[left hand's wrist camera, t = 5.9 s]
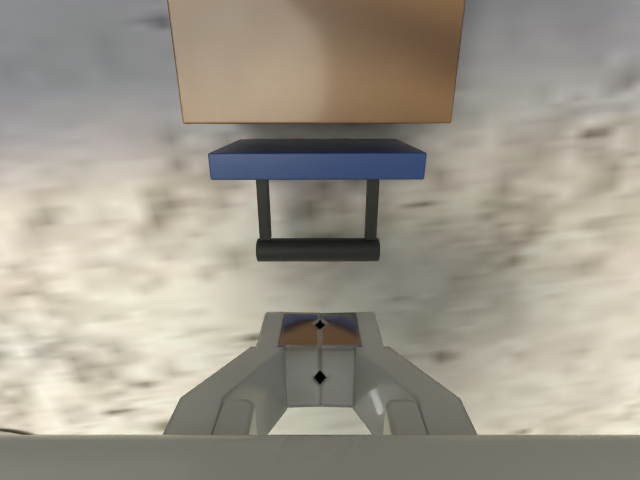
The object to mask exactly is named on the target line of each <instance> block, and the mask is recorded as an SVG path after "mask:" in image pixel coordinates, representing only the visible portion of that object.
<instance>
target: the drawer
mask: <svg viewBox="0 0 640 480" xmlns="http://www.w3.org/2000/svg"><path fill="white" fill-rule="evenodd" d="M208 158H209V167H210V176H211V179H212V180H256V186H257V202H258V217H259V233H260V238H259V239H258V240H257V243H256V257H257V260H258V261H378V260H379V257H380V243H379V239H378V238H376V231H377V213H378V195H379V179H424V174H425V163H426V153H425V152H423V151H420V150H418V149H416V148H414V147H412V146H410V145H407V144H405V143H403V142H401V141H399V140H396V139H248V140H238V141H236V142H233V143H231V144H229V145H227V146H225V147H222V148H220V149H218V150H216V151H213V152H211V153H209V154H208ZM357 179H367V192H366V215H365V238H271V237H272V236H271V217H270V198H269V180H357Z"/></svg>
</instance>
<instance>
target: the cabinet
mask: <svg viewBox="0 0 640 480" xmlns="http://www.w3.org/2000/svg"><path fill="white" fill-rule="evenodd" d="M167 3H168V10H169V18H170V26H171V34H172V41H173V49H174V57H175V65H176V72H177V80H178V88H179V96H180V103H181V111H182V119H183V123H184V124H315V123H450V122H451V117H452V109H453V101H454V92H455V84H456V75H457V67H458V59H459V50H460V42H461V33H462V25H463V16H464V8H465V0H167Z"/></svg>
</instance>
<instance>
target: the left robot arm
mask: <svg viewBox="0 0 640 480" xmlns="http://www.w3.org/2000/svg"><path fill="white" fill-rule="evenodd" d="M319 406H320V407H353V409H354V411H355V412H356V413H357V415H358V416H359V417H360V418H361V420H362V421H363V422H364V424H365V425H366V426H367V427H368V429H369V430H370V431H371V433H372V434H373V435H267V434H268V433H269V432H270V430H271V429H272V428H273V426H274V425H275V424H276V423H277V421H278V420H279V419H280V417H281V416H282V415H283V414H284V412H285V411H286V410H287V407H319ZM0 480H640V435H477V433H476V431H475V429H474V427H473V425H472V423H471V420H470V418H469V416H468V414H467V412H466V410H465V408H464V406H463V404H462V402H461V400H460V398H459V397H457V396H456V395H454V394H453V393H452V392H450V391H449V390H448V389H446V388H445V387H443V386H442V385H441V384H439V383H438V382H437V381H435V380H434V379H432V378H431V377H430V376H428V375H427V374H426V373H424V372H423V371H421V370H420V369H419V368H417V367H416V366H415V365H413V364H412V363H410V362H409V361H408V360H406V359H405V358H404V357H402V356H401V355H399V354H398V353H397V352H395V351H394V350H393V349H391V348H390V347H384V346H383V342H382V339H381V335H380V331H379V327H378V324H377V320H376V316H375V313H374V312H352V313H302V312H285V313H284V312H267V313H266V314H265V316H264V320H263V323H262V327H261V331H260V335H259V338H258V342H257V346H256V347H250V348H249V349H247V350H246V351H245V352H243V353H242V354H241V355H239V356H238V357H236V358H235V359H234V360H232V361H231V362H229V363H228V364H227V365H225V366H224V367H223V368H221V369H220V370H218V371H217V372H216V373H214V374H213V375H212V376H210V377H209V378H207V379H206V380H205V381H203V382H202V383H200V384H199V385H198V386H196V387H195V388H194V389H192V390H191V391H189V392H188V393H187V394H185V395H184V396H183V397H181V398H180V400H179V402H178V404H177V406H176V408H175V410H174V412H173V414H172V416H171V419H170V421H169V423H168V425H167V427H166V429H165V431H164V433H163V435H21V434H17V433H11V432H3V431H0Z"/></svg>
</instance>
